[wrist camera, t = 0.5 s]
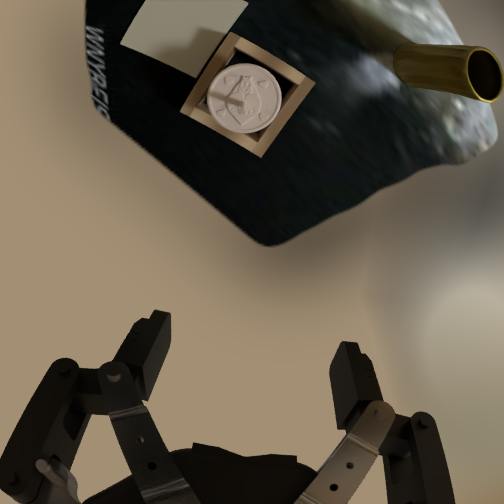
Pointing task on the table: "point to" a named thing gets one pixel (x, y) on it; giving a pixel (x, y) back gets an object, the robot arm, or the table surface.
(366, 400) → the robot arm
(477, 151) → the table surface
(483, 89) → the vase
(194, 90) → the sleeve
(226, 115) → the smoothie
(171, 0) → the mat
